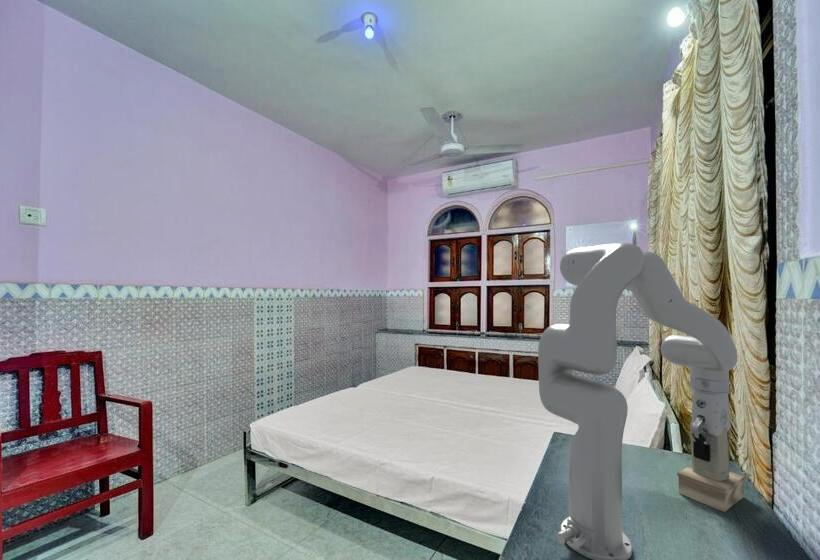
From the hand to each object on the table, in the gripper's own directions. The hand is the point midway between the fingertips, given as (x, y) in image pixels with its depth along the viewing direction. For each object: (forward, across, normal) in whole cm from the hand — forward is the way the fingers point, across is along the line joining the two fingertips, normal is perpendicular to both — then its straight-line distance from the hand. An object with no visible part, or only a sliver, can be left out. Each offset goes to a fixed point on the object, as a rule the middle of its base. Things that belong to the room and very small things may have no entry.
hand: (710, 454), depth 90 cm
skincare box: (+5, 0, 0) cm, 5 cm away
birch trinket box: (+10, 0, 0) cm, 10 cm away
